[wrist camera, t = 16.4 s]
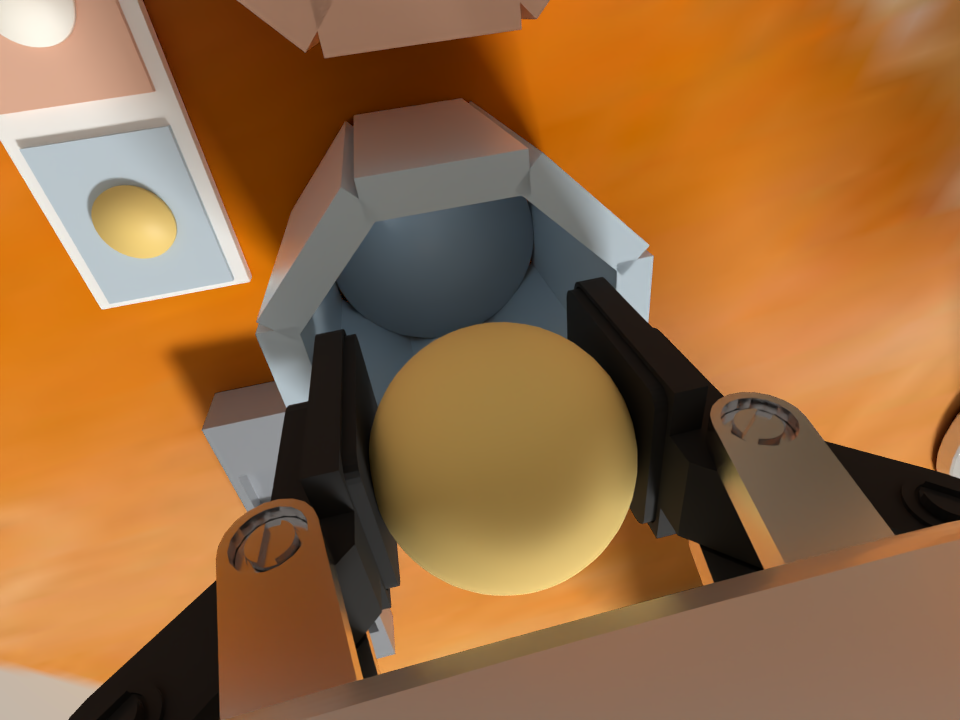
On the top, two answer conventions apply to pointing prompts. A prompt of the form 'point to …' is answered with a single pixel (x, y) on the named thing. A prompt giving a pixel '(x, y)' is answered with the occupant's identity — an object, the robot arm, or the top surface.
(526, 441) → the ball ochre
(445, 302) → the tube bluegrey
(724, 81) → the top surface
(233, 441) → the holder
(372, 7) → the tube terracotta
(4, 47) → the card
